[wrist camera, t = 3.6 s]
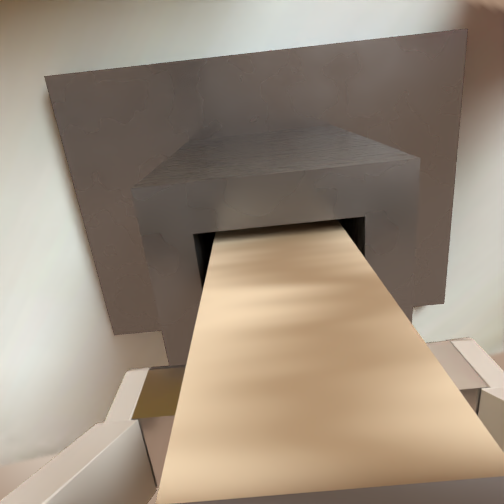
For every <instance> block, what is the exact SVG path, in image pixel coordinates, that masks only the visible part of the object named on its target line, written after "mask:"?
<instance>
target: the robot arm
mask: <svg viewBox="0 0 504 504" xmlns="http://www.w3.org/2000/svg"><path fill="white" fill-rule="evenodd" d="M426 345H427V346H428V347H429V349H430V350H431V352H432V353H433V354H434V356H435V357H436V359H437V360H438V361H439V363H440V364H441V366H442V367H443V368H444V370H445V371H446V373H447V374H448V375H449V377H450V378H451V380H452V381H453V382H454V384H455V385H456V387H457V388H458V389H459V391H460V392H461V394H462V395H463V396H464V398H465V399H466V401H467V402H468V403H469V405H470V406H471V408H472V409H473V410H474V412H475V413H476V415H477V416H478V417H479V419H480V420H481V422H482V423H483V424H484V426H485V427H486V429H487V430H488V431H489V433H490V434H491V436H492V437H493V438H494V440H495V441H496V443H497V444H498V445H499V447H500V448H501V450H502V451H503V452H504V371H503V370H502V369H501V368H500V367H499V366H498V365H497V364H496V363H495V362H494V361H493V360H492V358H491V357H490V356H489V355H488V354H487V353H486V352H485V351H484V350H483V349H482V348H481V347H480V345H479V344H478V343H477V342H476V341H475V340H474V339H472V338H469V337H466V338H458V339H450V340H446V341H439V342H429V343H426ZM185 368H186V365H174V366H160V367H151V368H150V367H148V368H137V369H130V370H128V371H127V372H126V373H125V375H124V377H123V380H122V382H121V384H120V387H119V389H118V391H117V393H116V396H115V398H114V400H113V403H112V405H111V407H110V409H109V412H108V414H107V416H106V419H105V421H104V423H97V424H95V425H94V426H93V427H92V428H90V429H89V430H88V431H87V432H85V433H84V434H83V435H82V436H80V437H79V438H78V439H77V440H75V441H74V442H73V443H72V444H70V445H69V446H68V447H67V448H65V449H64V450H63V451H62V452H60V453H59V454H58V455H57V456H55V457H54V458H53V459H52V460H50V461H49V462H48V463H47V464H45V465H44V466H43V467H42V468H40V469H39V470H38V471H37V472H35V473H34V474H33V475H32V476H30V477H29V478H28V479H27V480H25V481H24V482H23V483H22V484H20V485H19V486H18V487H17V488H15V489H14V490H13V491H12V492H10V493H9V494H8V495H7V496H5V497H4V498H3V499H2V500H0V504H147V503H148V502H149V500H150V499H151V497H152V496H153V495H154V494H155V492H156V491H157V490H156V488H159V485H160V481H161V476H162V472H163V467H164V463H165V458H166V454H167V449H168V445H169V440H170V436H171V431H172V427H173V422H174V418H175V413H176V409H177V404H178V400H179V395H180V391H181V386H182V382H183V377H184V373H185Z"/></svg>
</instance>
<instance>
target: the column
mask: <svg viewBox="0 0 504 504" xmlns="http://www.w3.org/2000/svg"><path fill="white" fill-rule="evenodd" d="M155 504H504V452H503V451H502V450H501V448H500V447H499V445H498V444H497V443H496V441H495V440H494V438H493V437H492V436H491V434H490V433H489V431H488V430H487V429H486V427H485V426H484V424H483V423H482V422H481V420H480V419H479V417H478V416H477V415H476V413H475V412H474V410H473V409H472V408H471V406H470V405H469V403H468V402H467V401H466V399H465V398H464V396H463V395H462V394H461V392H460V391H459V389H458V388H457V387H456V385H455V384H454V382H453V381H452V380H451V378H450V377H449V375H448V374H447V373H446V371H445V370H444V368H443V367H442V366H441V364H440V363H439V361H438V360H437V359H436V357H435V356H434V354H433V353H432V352H431V350H430V349H429V347H428V346H427V345H426V343H425V342H424V340H423V339H422V338H421V336H420V335H419V333H418V332H417V331H416V329H415V328H414V326H413V325H412V324H411V322H410V321H409V319H408V318H407V317H406V315H405V314H404V312H403V311H402V310H401V308H400V307H399V305H398V304H397V302H396V301H395V300H394V298H393V297H392V295H391V294H390V293H389V291H388V290H387V288H386V287H385V286H384V284H383V283H382V281H381V280H380V279H379V277H378V276H377V274H376V273H375V272H374V270H373V269H372V267H371V266H370V265H369V263H368V262H367V260H366V259H365V258H364V256H363V255H362V253H361V252H360V251H359V249H358V248H357V246H356V245H355V244H354V242H353V241H352V239H351V238H350V237H349V235H348V234H347V232H346V231H345V230H344V228H343V227H342V225H341V224H340V223H339V221H338V220H337V219H335V220H325V221H315V222H305V223H295V224H285V225H276V226H266V227H256V228H246V229H236V230H226V231H216V233H215V238H214V242H213V247H212V251H211V256H210V260H209V265H208V269H207V274H206V278H205V283H204V287H203V292H202V296H201V301H200V305H199V310H198V314H197V319H196V323H195V328H194V332H193V337H192V341H191V346H190V350H189V355H188V359H187V364H186V368H185V373H184V377H183V382H182V386H181V391H180V395H179V400H178V404H177V409H176V413H175V418H174V422H173V427H172V431H171V436H170V440H169V445H168V449H167V454H166V458H165V463H164V467H163V472H162V476H161V481H160V485H159V490H158V495H157V499H156V503H155Z"/></svg>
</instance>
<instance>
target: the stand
mask: <svg viewBox="0 0 504 504" xmlns="http://www.w3.org/2000/svg"><path fill="white" fill-rule="evenodd" d="M467 33H468V29H460V30H451V31H442V32H433V33H424V34H415V35H406V36H398V37H389V38H380V39H371V40H362V41H353V42H344V43H336V44H327V45H318V46H309V47H300V48H291V49H282V50H273V51H265V52H256V53H247V54H238V55H229V56H220V57H211V58H203V59H194V60H185V61H176V62H167V63H158V64H149V65H141V66H132V67H123V68H114V69H105V70H96V71H87V72H79V73H70V74H61V75H52V76H44V77H45V81H46V84H47V88H48V92H49V95H50V99H51V103H52V107H53V110H54V114H55V118H56V121H57V125H58V129H59V132H60V136H61V140H62V144H63V147H64V151H65V155H66V158H67V162H68V166H69V169H70V173H71V177H72V180H73V184H74V188H75V192H76V195H77V199H78V203H79V206H80V210H81V214H82V217H83V221H84V225H85V229H86V232H87V236H88V240H89V243H90V247H91V251H92V254H93V258H94V262H95V266H96V269H97V273H98V277H99V280H100V284H101V288H102V291H103V295H104V299H105V303H106V306H107V310H108V314H109V317H110V321H111V325H112V328H113V332H114V335H119V334H130V333H140V332H151V331H161V330H162V334H163V339H164V343H165V348H166V353H167V357H168V362H169V366H174V365H186V364H187V359H188V355H189V350H190V346H191V341H192V337H193V332H194V328H195V323H196V319H197V314H198V310H199V305H200V301H201V296H202V292H203V287H204V283H205V278H206V274H207V269H208V265H209V260H210V256H211V251H212V247H213V242H214V238H215V233H216V231H226V230H236V229H246V228H256V227H266V226H276V225H285V224H295V223H305V222H315V221H325V220H335V219H337V220H338V221H339V223H340V224H341V225H342V227H343V228H344V230H345V231H346V232H347V234H348V235H349V237H350V238H351V239H352V241H353V242H354V244H355V245H356V246H357V248H358V249H359V251H360V252H361V253H362V255H363V256H364V258H365V259H366V260H367V262H368V263H369V265H370V266H371V267H372V269H373V270H374V272H375V273H376V274H377V276H378V277H379V279H380V280H381V281H382V283H383V284H384V286H385V287H386V288H387V290H388V291H389V293H390V294H391V295H392V297H393V298H394V300H395V301H396V302H397V304H398V305H399V307H400V308H401V310H402V311H403V312H404V314H405V315H406V317H407V318H408V319H409V321H410V322H411V324H412V309H413V307H414V306H424V305H435V304H444V300H445V288H446V276H447V265H448V253H449V242H450V230H451V218H452V207H453V195H454V184H455V172H456V161H457V149H458V137H459V126H460V114H461V103H462V91H463V79H464V68H465V56H466V45H467Z"/></svg>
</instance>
